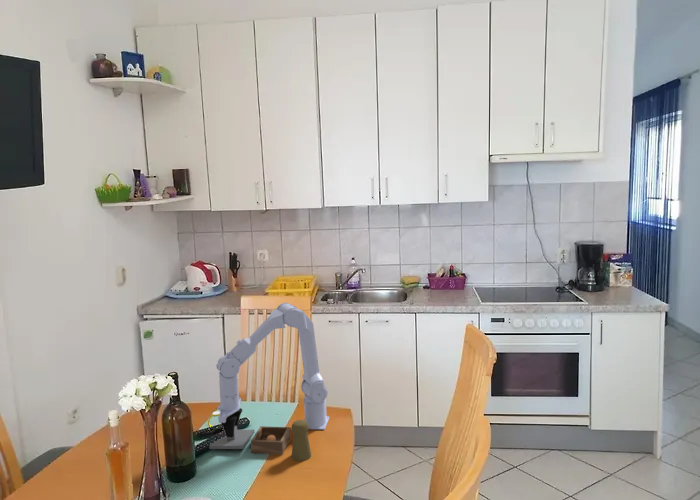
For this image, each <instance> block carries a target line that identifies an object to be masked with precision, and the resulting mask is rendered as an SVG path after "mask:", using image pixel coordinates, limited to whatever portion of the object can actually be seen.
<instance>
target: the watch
mask: <svg viewBox="0 0 700 500" xmlns="http://www.w3.org/2000/svg"><path fill="white" fill-rule="evenodd" d="M219 416H220V410H217V411H213V412H212V414H210V415H209V417H208V420H207V426H208V427H211V426H212V425H211V423H210V420H211V418H213V417H219Z"/></svg>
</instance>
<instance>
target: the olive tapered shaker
mask: <svg viewBox="0 0 700 500" xmlns="http://www.w3.org/2000/svg"><path fill="white" fill-rule="evenodd" d="M309 430H310V429H309V425H308V423H307V421H305V419H298V420H295V421H294V422H292V424H291V431H292V433H293V434H292V435H293V438H292V449H291V459H292V460H293V461H297V462H304V461H308V460H310V459H311V457H312V452H311V451H312V449H311V444H310V441H309V433H308V432H309Z"/></svg>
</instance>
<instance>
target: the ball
mask: <svg viewBox="0 0 700 500" xmlns="http://www.w3.org/2000/svg"><path fill="white" fill-rule="evenodd" d="M266 440H268V441H276V437H275V436H274V435H269V436H268V437H267V439H266Z"/></svg>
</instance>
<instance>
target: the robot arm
mask: <svg viewBox="0 0 700 500" xmlns="http://www.w3.org/2000/svg"><path fill="white" fill-rule="evenodd" d="M285 325H286V326H287V327H290V328H294V329H297V330H298V336H299V337H298V338H299V344H300V352H301V361H302V367H303V374H302V381H301V385H300V389H301V391H302V393H303V394H304V397H303V407H304V420H305V421H307V423H308V425H309V429H308V430H321V431H322V430H323V431H324V430H326V427H327V425H328V422H329V419H330V416H328V415H327V397H328V388H327V387H326V386H325V382H324V378H323V377H322V375H321V373H320V365H319V357H318V352H317V351H318V349H317V344H316V343H317V341H316V335H315V328H314V322H313V321H312V319H310V317H309V316H308V315H307V314H306V313H305V311H304V310H301V309H300V308H298V307H297V306H295V305H293V304H291V303H289V302H282V303H280V304H279V305H278V306H277V307H276V308H275V309H273V310H272V311H271V313H269V315H268V317H267V318H266V319H265V320H264V321H263V322H262V323H261V325H259V326H258V328H256V330H255V331H254V332H253V333H252V334H251V335H250V336H249V337H247V338H246V337H245V338H242V339H241V340H240V339H239V340H237V341H236V344H235V346H234V347H233V348H232V349H231V350H229V351H227V352H226V353H225V355H222V356H221V357H220V358H219V359H218V360H217V362H216V364H215V366H216V369H217V370H218V374H219V377H218V378H219V379H218V380H219V381H218V382H219V383H218V385H219V398H220V405H218V406H217V408H216V409H217V411H219V412H220V415H219V416H217V417H218V423H219V424H221V427H222V426H223V430H224V431H225V434H226V437H233V436H234V426H235V425H237V430H239V429H238V428H239V422H240V417H241V414H242V413H243V408H241V404H242V399H241V397H240V395H239V383H238V382H239V381H238V380H239V379H238V374H239V372H240V367H241V366H242V365H243V364H244V363H245V362H247V360H248V359H249V358H251V356H252V355H253V354H254V353H256V351H257V345H259V344H260V343H261V342H262V341H263V340H264V339H265V338H266V337H268V336H269V335H270V334H271V333H272V332H273V331H275V330H277V329H285V328H286V326H285Z"/></svg>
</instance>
